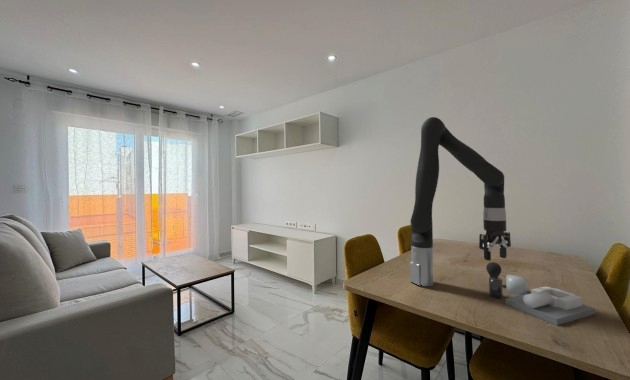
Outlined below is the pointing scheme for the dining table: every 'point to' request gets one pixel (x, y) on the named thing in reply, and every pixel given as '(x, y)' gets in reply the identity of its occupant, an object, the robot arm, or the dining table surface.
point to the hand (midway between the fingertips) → (495, 258)
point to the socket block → (551, 305)
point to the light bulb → (493, 269)
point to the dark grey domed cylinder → (495, 288)
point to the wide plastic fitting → (516, 284)
